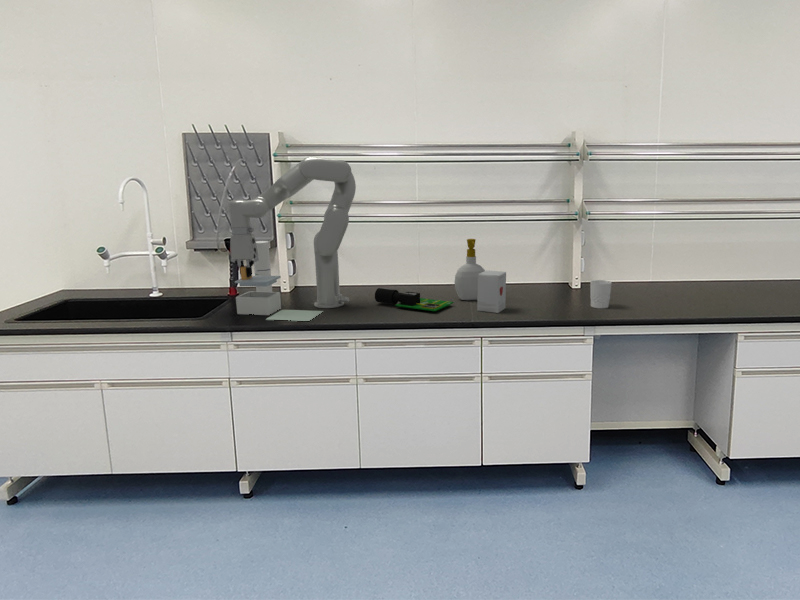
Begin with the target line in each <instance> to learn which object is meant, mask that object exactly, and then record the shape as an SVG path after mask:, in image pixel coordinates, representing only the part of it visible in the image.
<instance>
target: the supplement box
mask: <svg viewBox="0 0 800 600" xmlns="http://www.w3.org/2000/svg"><path fill="white" fill-rule="evenodd" d="M506 289H507V271H502V270H501V271H498V270H497V271H496V270H485V271H484V272H481V273H480V274H478V300H477V302H476V303H477V307H476V308H477V309H476V310H477V311H478V312H485V313H494V314H496V313H497V314H498V313H500V312H502V311H504V310H505V309H506V298H507V296H506V295H507V290H506Z"/></svg>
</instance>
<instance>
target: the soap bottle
mask: <svg viewBox="0 0 800 600" xmlns="http://www.w3.org/2000/svg"><path fill="white" fill-rule="evenodd" d="M476 240H477V239H476V238H467V239H466V242H467V249H466V256H465V257H466V259H465V263H464V264H463V265H461V266H460V267H459V268H458V269H457V271H456V273H455V275H454V289H455V292H456V293H457V296H458V298H459V299H460V300H462V301H478V274H480V273H481V272H484V271H486V270H485V268H484V267H483V266H481V265H480V264H477V256H476V249H475V245H476Z"/></svg>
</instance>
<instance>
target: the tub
mask: <svg viewBox="0 0 800 600" xmlns="http://www.w3.org/2000/svg"><path fill="white" fill-rule="evenodd" d="M281 303H282V301H281V292H280V291H279V292H278V291H272V292H258V291H256V290H255V291H252V290H249V291H247V292H244V293H242V294H240V295H237V296H236V297H235V304H236V305H235V306H236V313H237V315H249V314H252V315H253V314H254V315H255V316H256V315H257V316H271V315H273V314H275V313H277V312H278V311H280V310H282V304H281ZM279 309H280V310H279ZM277 310H278V311H277ZM270 314H271V315H270ZM254 315H253V316H254Z"/></svg>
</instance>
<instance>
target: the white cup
mask: <svg viewBox="0 0 800 600" xmlns="http://www.w3.org/2000/svg"><path fill="white" fill-rule="evenodd" d="M589 284H590V287H589V289H590V290H589V291H590V293H589V295H590V307H591V308H595V309H608V308H609V305H610V300H611V292H612V281H610V280H604V279H602V280H601V279H594V280H590V283H589Z"/></svg>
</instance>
